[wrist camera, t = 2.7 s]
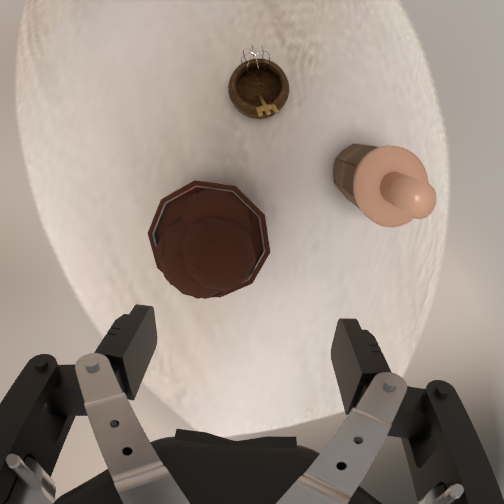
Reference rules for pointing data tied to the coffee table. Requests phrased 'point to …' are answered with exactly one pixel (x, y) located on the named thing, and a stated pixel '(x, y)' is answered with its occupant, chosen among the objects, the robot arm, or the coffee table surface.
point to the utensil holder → (258, 87)
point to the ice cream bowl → (209, 239)
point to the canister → (349, 168)
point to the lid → (393, 187)
